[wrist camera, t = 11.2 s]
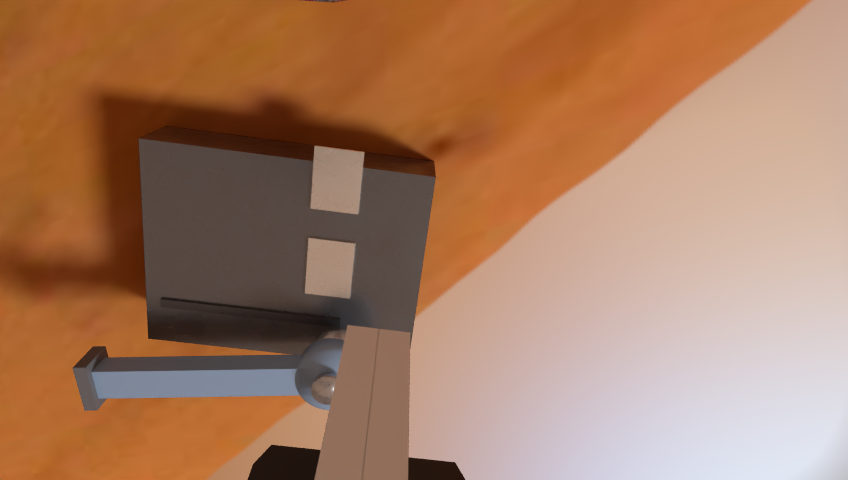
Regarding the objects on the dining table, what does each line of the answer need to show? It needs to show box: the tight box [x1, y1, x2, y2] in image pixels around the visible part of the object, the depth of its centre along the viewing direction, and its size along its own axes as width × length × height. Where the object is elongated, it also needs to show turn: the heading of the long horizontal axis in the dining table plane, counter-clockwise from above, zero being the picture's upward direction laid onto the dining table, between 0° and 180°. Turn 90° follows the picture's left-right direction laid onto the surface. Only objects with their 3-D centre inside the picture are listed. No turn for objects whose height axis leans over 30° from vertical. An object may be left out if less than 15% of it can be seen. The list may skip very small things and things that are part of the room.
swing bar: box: [73, 338, 344, 410], centre depth 37 cm, size 18×4×2 cm, turn 91°
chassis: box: [139, 126, 436, 405], centre depth 37 cm, size 18×16×9 cm
